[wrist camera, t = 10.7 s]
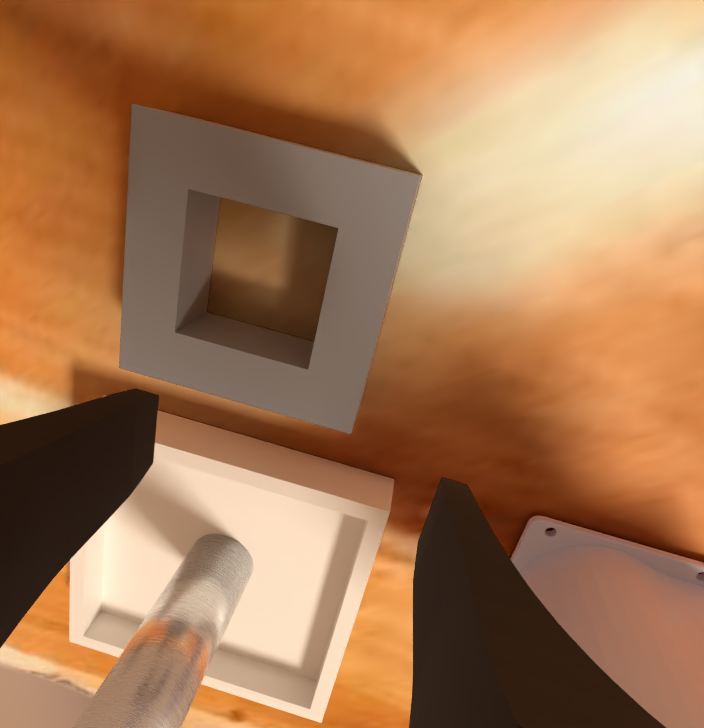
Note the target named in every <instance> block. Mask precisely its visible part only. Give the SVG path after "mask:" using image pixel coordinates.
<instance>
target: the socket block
mask: <svg viewBox="0 0 704 728" xmlns="http://www.w3.org/2000/svg"><path fill="white" fill-rule="evenodd" d="M421 179H422V175H421V174H417V173H413V172H409V171H405V170H401V169H397V168H393V167H389V166H385V165H381V164H377V163H373V162H369V161H365V160H361V159H357V158H353V157H349V156H346V155H342V154H338V153H334V152H330V151H326V150H322V149H318V148H314V147H310V146H306V145H302V144H298V143H294V142H290V141H286V140H282V139H278V138H274V137H270V136H266V135H262V134H258V133H254V132H250V131H246V130H242V129H238V128H235V127H231V126H227V125H223V124H219V123H215V122H211V121H207V120H203V119H199V118H195V117H191V116H187V115H183V114H179V113H175V112H170V111H165V110H161V109H156V108H151V107H146V106H141V105H136V104H132V107H131V128H130V149H129V170H128V191H127V212H126V233H125V254H124V275H123V296H122V317H121V338H120V359H119V368H121V369H124V370H128V371H131V372H135V373H138V374H142V375H145V376H149V377H152V378H156V379H159V380H163V381H166V382H170V383H173V384H177V385H180V386H184V387H187V388H191V389H194V390H198V391H201V392H205V393H208V394H212V395H215V396H219V397H222V398H225V399H229V400H232V401H236V402H239V403H243V404H246V405H250V406H253V407H257V408H260V409H264V410H267V411H271V412H274V413H278V414H281V415H285V416H288V417H292V418H295V419H299V420H302V421H306V422H309V423H313V424H316V425H320V426H323V427H327V428H330V429H334V430H337V431H341V432H344V433H347V434H351V433H352V430H353V427H354V424H355V421H356V418H357V415H358V412H359V409H360V405H361V402H362V399H363V395H364V391H365V388H366V384H367V380H368V376H369V373H370V369H371V365H372V361H373V358H374V354H375V350H376V346H377V343H378V339H379V335H380V332H381V328H382V324H383V320H384V317H385V313H386V309H387V305H388V302H389V298H390V294H391V291H392V287H393V283H394V279H395V276H396V272H397V268H398V264H399V261H400V257H401V253H402V249H403V246H404V242H405V238H406V235H407V231H408V227H409V223H410V220H411V216H412V212H413V208H414V205H415V201H416V197H417V194H418V190H419V186H420V182H421ZM221 198H225V199H229V200H233V201H237V202H240V203H244V204H248V205H252V206H256V207H259V208H263V209H267V210H271V211H275V212H279V213H282V214H286V215H290V216H294V217H298V218H302V219H305V220H309V221H313V222H317V223H321V224H324V225H328V226H332V227H336V228H338V233H337V237H336V242H335V247H334V252H333V256H332V261H331V266H330V270H329V275H328V280H327V284H326V289H325V294H324V298H323V303H322V308H321V312H320V317H319V322H318V326H317V331H316V336H315V340H314V342H313V341H309V340H306V339H302V338H299V337H295V336H291V335H288V334H284V333H281V332H277V331H273V330H270V329H266V328H262V327H259V326H255V325H252V324H248V323H244V322H241V321H237V320H234V319H230V318H226V317H223V316H219V315H215V314H212V313H208V312H207V308H208V300H209V291H210V283H211V275H212V266H213V258H214V249H215V241H216V232H217V224H218V216H219V207H220V199H221Z"/></svg>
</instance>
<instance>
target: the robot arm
mask: <svg viewBox="0 0 704 728" xmlns="http://www.w3.org/2000/svg"><path fill="white" fill-rule="evenodd" d="M158 401H159V395H156V394H153V393H149V392H146V391H142V390H139V389H132V390H127V391H123V392H119V393H115V394H112V395H108V396H105V397H102V398H98V399H95V400H91V401H88V402H85V403H81V404H78V405H74V406H71V407H68V408H64V409H61V410H57V411H54V412H50V413H46V414H42V415H38V416H34V417H31V418H27V419H23V420H19V421H15V422H11V423H7V424H3V425H0V648H1V646H2V645H3V644H4V642H5V641H6V640H7V638H8V637H9V636H10V634H11V633H12V631H13V630H14V629H15V627H16V626H17V625H18V623H19V622H20V621H21V619H22V618H23V617H24V615H25V614H26V613H27V611H28V610H29V609H30V608H31V606H32V605H33V604H34V602H35V601H36V600H37V599H38V597H39V596H40V595H41V593H42V592H43V591H44V589H45V588H46V587H47V586H48V584H49V583H50V582H51V581H52V579H53V578H54V577H55V576H56V575H57V574H58V572H59V571H60V570H61V569H62V568H63V567H64V566H65V564H66V563H67V562H68V561H69V560H70V559H71V558H72V557H73V556H74V555H75V554H76V553H77V552H78V551H79V550H80V549H81V548H82V546H83V545H84V544H85V543H86V542H87V541H88V540H89V539H90V538H91V537H92V536H93V535H94V534H95V533H96V532H97V531H98V530H99V529H100V527H101V526H102V525H103V524H104V523H105V522H106V521H107V520H108V519H109V518H110V517H111V516H112V515H113V514H114V513H115V511H116V510H117V509H118V508H119V507H120V506H121V505H122V504H123V503H124V502H125V501H126V500H127V498H128V497H129V496H130V495H131V494H132V492H133V491H134V490H135V488H136V487H137V486H138V484H139V483H140V482H141V480H142V479H143V477H144V476H145V474H146V473H147V471H148V470H149V469H150V467H151V466H152V464H153V460H154V448H155V436H156V424H157V413H158ZM547 528H554V529H553V530H552V531H546V529H547ZM701 572H704V563H703V562H700V561H696V560H693V559H689V558H686V557H683V556H679V555H676V554H672V553H669V552H665V551H662V550H658V549H655V548H652V547H648V546H645V545H641V544H638V543H634V542H631V541H627V540H624V539H621V538H617V537H614V536H610V535H607V534H603V533H600V532H596V531H593V530H589V529H586V528H583V527H579V526H576V525H572V524H569V523H565V522H562V521H558V520H555V519H552V518H548V517H545V516H539V515H537V516H533V517H532V518H530V519H529V521H528V522H527V525H526V527H525V529H524V531H523V533H522V535H521V537H520V540H519V542H518V544H517V546H516V548H515V550H514V552H513V554H512V557H511V559H510V558H509V557H508V555H507V553H506V552H505V550H504V549H503V547H502V546H501V544H500V542H499V541H498V539H497V537H496V536H495V534H494V532H493V531H492V529H491V527H490V525H489V524H488V522H487V520H486V518H485V517H484V515H483V513H482V511H481V509H480V507H479V506H478V504H477V502H476V500H475V498H474V496H473V495H472V493H471V491H470V489H469V487H468V486H467V484H464V483H461V482H457V481H454V480H450V479H447V478H444V477H442V478H441V481H440V483H439V486H438V489H437V491H436V494H435V497H434V500H433V502H432V505H431V508H430V511H429V513H428V516H427V519H426V522H425V524H424V527H423V530H422V533H421V535H420V538H419V541H418V546H417V554H416V561H415V570H414V578H413V689H412V703H411V714H410V724H409V728H704V573H702V574H700V575H697V574H698V573H701Z"/></svg>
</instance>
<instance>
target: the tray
mask: <svg viewBox="0 0 704 728" xmlns="http://www.w3.org/2000/svg"><path fill="white" fill-rule="evenodd" d="M105 396H107V395H103V396H102V397H105ZM102 397H100V398H102ZM394 480H395V479H393V478H389V477H386V476H382V475H379V474H375V473H372V472H368V471H365V470H362V469H358V468H355V467H351V466H348V465H344V464H341V463H338V462H334V461H331V460H327V459H324V458H320V457H317V456H313V455H310V454H307V453H303V452H300V451H296V450H293V449H289V448H286V447H283V446H279V445H276V444H272V443H269V442H265V441H262V440H258V439H255V438H252V437H248V436H245V435H241V434H238V433H234V432H231V431H228V430H224V429H221V428H217V427H214V426H210V425H207V424H203V423H200V422H197V421H193V420H190V419H186V418H183V417H179V416H176V415H172V414H169V413H166V412H162V411H159V410H158V413H157V424H156V436H155V448H154V460H153V464H152V466H151V467H150V469H149V470H148V471H147V473H146V474H145V476H144V477H143V479H142V480H141V482H140V483H139V484H138V486H137V487H136V488H135V490H134V491H133V492H132V494H131V495H130V496H129V497H128V498H127V500H126V501H125V502H124V503H123V504H122V505H121V506H120V507H119V508H118V509H117V510H116V511H115V513H114V514H113V515H112V516H111V517H110V518H109V519H108V520H107V521H106V522H105V523H104V524H103V525H102V526H101V527H100V529H99V530H98V531H97V532H96V533H95V534H94V535H93V536H92V537H91V538H90V539H89V540H88V541H87V542H86V543H85V544H84V545H83V546H82V548H81V549H80V550H79V551H78V552H77V553H76V554H75V555H74V556H73V557H72V558H71V559H70V642H73V643H76V644H79V645H82V646H85V647H88V648H91V649H94V650H98V651H101V652H104V653H107V654H110V655H113V656H116V657H120V656H121V654H122V653H123V651H124V650H125V648H126V647H127V645H128V644H129V642H130V640H131V639H132V637H133V636H134V634H135V633H136V631H137V630H138V628H139V627H140V625H141V624H142V622H143V621H144V619H145V618H146V616H147V615H148V613H149V611H150V610H151V608H152V607H153V605H154V604H155V602H156V601H157V599H158V598H159V596H160V595H161V593H162V592H163V590H164V589H165V587H166V586H167V584H168V582H169V581H170V579H171V578H172V576H173V575H174V573H175V572H176V570H177V569H178V567H179V566H180V564H181V563H182V561H183V560H184V558H185V557H186V555H187V553H188V552H189V550H190V549H191V547H192V546H193V544H194V543H195V542H196V540H198V539H199V538H200V537H202V536H205V535H209V534H221V535H225V536H228V537H231V538H233V539H235V540H236V541H238V542H239V543H241V544H242V545H243V546H244V547H245V548H246V549H247V550H248V552H249V553H250V555H251V557H252V560H253V572H252V575H251V577H250V579H249V581H248V583H247V586H246V588H245V590H244V592H243V594H242V596H241V599H240V601H239V603H238V605H237V607H236V609H235V611H234V614H233V616H232V618H231V620H230V622H229V624H228V627H227V629H226V631H225V633H224V635H223V637H222V639H221V642H220V644H219V646H218V648H217V650H216V652H215V655H214V657H213V659H212V661H211V663H210V665H209V667H208V670H207V672H206V674H205V676H204V678H203V680H202V683H201V684H203V685H206V686H209V687H212V688H215V689H218V690H221V691H224V692H227V693H230V694H233V695H236V696H240V697H243V698H246V699H249V700H252V701H255V702H258V703H261V704H264V705H267V706H270V707H274V708H277V709H280V710H283V711H286V712H289V713H292V714H295V715H298V716H301V717H304V718H307V719H311V720H314V721H317V722H320V723H321V722H322V719H323V716H324V713H325V710H326V707H327V704H328V701H329V698H330V695H331V692H332V689H333V686H334V683H335V679H336V676H337V673H338V670H339V667H340V664H341V661H342V658H343V655H344V652H345V649H346V646H347V643H348V640H349V637H350V633H351V630H352V627H353V624H354V621H355V618H356V615H357V612H358V609H359V606H360V603H361V600H362V597H363V594H364V591H365V587H366V584H367V581H368V578H369V575H370V572H371V569H372V566H373V563H374V560H375V557H376V554H377V551H378V548H379V545H380V541H381V538H382V535H383V532H384V529H385V526H386V523H387V520H388V517H389V514H390V509H391V502H392V495H393V488H394Z"/></svg>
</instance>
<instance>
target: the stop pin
mask: <svg viewBox="0 0 704 728" xmlns="http://www.w3.org/2000/svg"><path fill="white" fill-rule="evenodd" d="M252 572H253V560H252V557H251V555H250V553H249V552H248V550H247V549H246V548H245V547H244V546H243V545H242V544H241V543H239V542H238V541H236V540H235V539H233V538H231V537H228V536H225V535H221V534H209V535H205V536H202V537H200V538H199V539H198V540H196V542H195V543H194V544H193V546H192V547H191V549H190V550H189V552H188V553H187V555H186V557H185V558H184V560H183V561H182V563H181V564H180V566H179V567H178V569H177V570H176V572H175V573H174V575H173V576H172V578H171V579H170V581H169V582H168V584H167V586H166V587H165V589H164V590H163V592H162V593H161V595H160V596H159V598H158V599H157V601H156V602H155V604H154V605H153V607H152V608H151V610H150V611H149V613H148V615H147V616H146V618H145V619H144V621H143V622H142V624H141V625H140V627H139V628H138V630H137V631H136V633H135V634H134V636H133V637H132V639H131V640H130V642H129V644H128V645H127V647H126V648H125V650H124V651H123V653H122V654H121V656H120V657H119V659H118V660H117V662H116V663H115V665H114V666H113V668H112V669H111V671H110V673H109V674H108V676H107V677H106V679H105V680H104V682H103V683H102V685H101V686H100V688H99V689H98V691H97V692H96V694H95V695H94V697H93V698H92V700H91V702H90V703H89V705H88V706H87V708H86V709H85V711H84V712H83V714H82V715H81V717H80V718H79V720H78V721H77V723H76V724H75V726H74V728H181V726H182V724H183V721H184V719H185V717H186V715H187V713H188V711H189V708H190V706H191V704H192V702H193V700H194V698H195V696H196V693H197V691H198V689H199V687H200V685H201V683H202V680H203V678H204V676H205V674H206V672H207V670H208V667H209V665H210V663H211V661H212V659H213V657H214V655H215V652H216V650H217V648H218V646H219V644H220V642H221V639H222V637H223V635H224V633H225V631H226V629H227V627H228V624H229V622H230V620H231V618H232V616H233V614H234V611H235V609H236V607H237V605H238V603H239V601H240V599H241V596H242V594H243V592H244V590H245V588H246V586H247V583H248V581H249V579H250V577H251V575H252Z"/></svg>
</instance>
